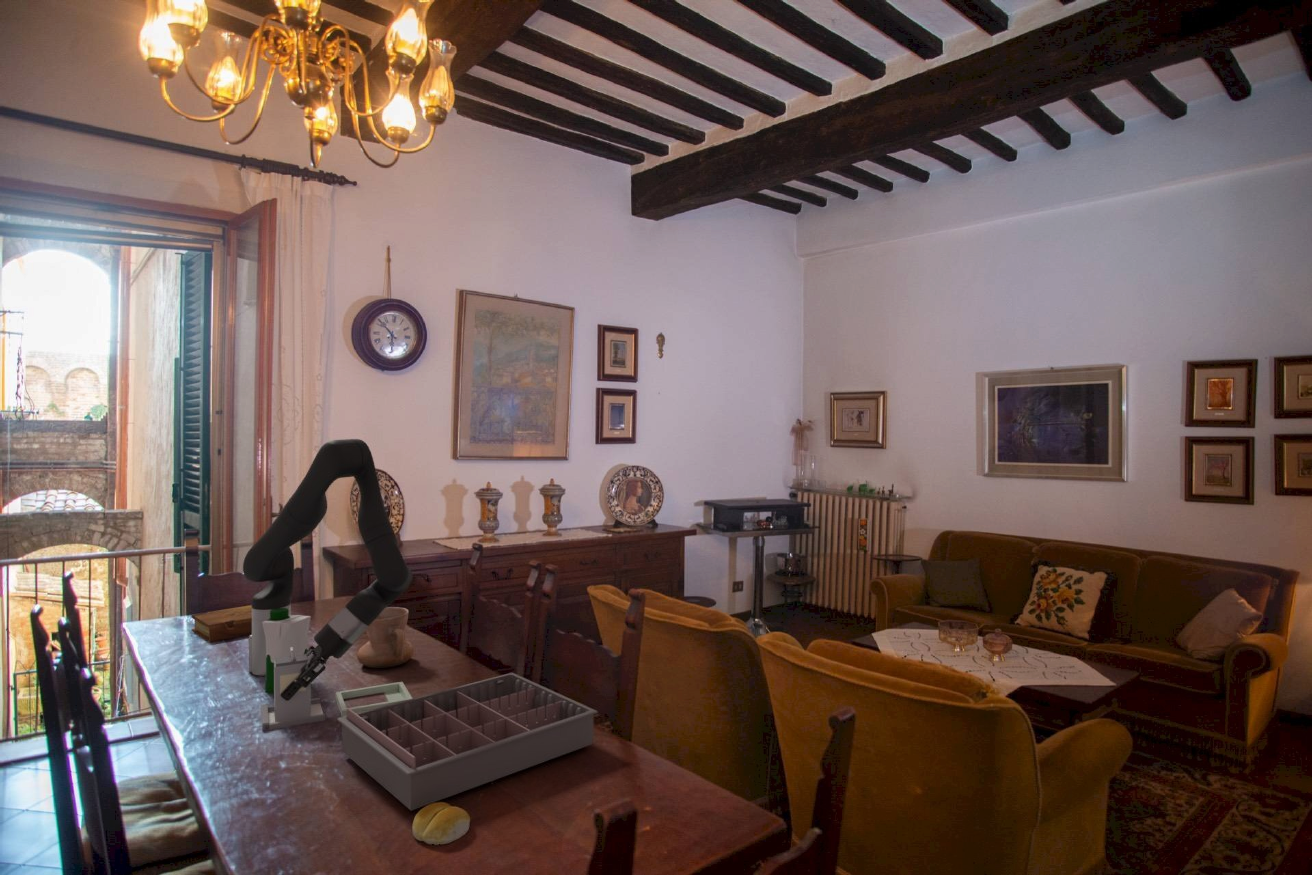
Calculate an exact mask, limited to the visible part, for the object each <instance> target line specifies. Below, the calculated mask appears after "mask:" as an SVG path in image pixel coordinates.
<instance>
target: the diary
mask: <svg viewBox="0 0 1312 875" xmlns="http://www.w3.org/2000/svg"><path fill="white" fill-rule="evenodd" d="M190 617H191V618H192V619H193V620H194V628H192V629H191V632H193V633H194V634H196V635H197V636H199V637H200V638H201V639H203V640H205V641H206V642H208V641H209V642H208V643H213V641H215V642H219V640H220V641H225V640H230V639H235V638H242V637H247V636H250V635H252V604H250V605H245V606H239V607H238V606H237V607H232V608H231V607H230V608H225V609H224V608H223V609H220V610H219V609H218V610H212V611H205V612H200V613H193V614H191V616H190Z"/></svg>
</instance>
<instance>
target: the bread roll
mask: <svg viewBox="0 0 1312 875" xmlns="http://www.w3.org/2000/svg"><path fill="white" fill-rule="evenodd" d="M470 823H471V817H470V815H469V813H468V812H467V811H466V810H465V809H463V808H460V807H458V806H452V805H451V804H449V803H448V802H444V801H439V802H438V801H436V802H433V803H430V804H428V805H425V806H423V808H422V807H421V809H419V811H418V812H417V813H416V814H415V816H414V819H413V821H412V827H411V828H412V835H413V837H414V838H415V839H416V840H418V841H420V842H424V843H425V844H428V845H432V844H434V845H433V846H440V845H446V844H449V843H453V842H454V841H457V840H458V839H461V838H462V837H463V836H464V835H466V834H467V832H468V831H469V828H470ZM439 844H440V845H439Z"/></svg>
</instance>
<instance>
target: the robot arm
mask: <svg viewBox="0 0 1312 875" xmlns="http://www.w3.org/2000/svg"><path fill="white" fill-rule="evenodd" d="M352 477H353V478H354V479H355V482H356V483H357V487H358V490H359V495H360V497H359V507H358V512H357V526H358V530H359V533H360V536H361V538H362V541H363V543H364V545H365V548H366V550H367V552H368V554H369V557H370V562H371V565H372V569H373V572H374V575H375V577H376V579H375V580H374V581H373V582H372V583H371V584H370V585H369V586H368V587H366V588H365V589H362V590H360V591H358V593H356V594H355V595H354V596H353V597H352V598H351V600H349V601H348V603H347V604H345V606H343V608H341V609H340V610H339V611H338V612H336V614H334V615H333V616H332V617H331V619H330V620H329V621H327V623H326V624H325V625H324V626H323V627H322V628H321V629H320V630H318V631H319V632H317V633H316V634H315V636H314V638H313V640H314V642H315V643H316V644H317V645H316V646H314V645H310V647H308V650H307V652H306V653H305V654H307V655H306V656H308V657H307V659H309V660H308V661H307V662H306V663H305V664H304V666H303V667H302V668H301V669H300V673H299V674H298V675H297V676H296V677H295V678H294V680H293V681H292V682H291V683H290V684H289V685H288V686H287V688H286V689H285V690H284V691H283V692H282V693H281V697H282V698H283V699H285V700H286V701H289V700H290V699H291V698H292V697H293V696H294V695H295V693H296V692H297V691H298V690H299V689H300V688H301V687H302V688H303V687H304V688H306V687H307V686H308V685H309V684H310V683H311V684H312V682H314V680H315V679H316V678H318V676H320V674H322V673H323V672H324V671H326V668H327V666H326V665H327V661H328V660H329V659H330V657H333V658H334V659H337V660H338V659H341V658H342V657H343V656H344V655H345V654H346V653H347V651H349V649H350V648H351V647H352V646H354V644H355V643H356V642H357V641H358V640H359V639H360V638H361V637H362V636H363V634H364V633H365V632H366V631H365V630H366V629H367V627H368V626H369V625H370V624H371V623H372V622H373V621H374V620H375V619H376V618H377V617H378V616H379V614H380V613H381V612H382V611H383V610H384V609H385V608H386V607H388V606H390V605H391V604H392V603H394V601H396V600H397V599H398V598H399V597H400V596H401V595H402V594H403V593H404V592H405V591H406V590H407V589H408V588H409V587H410V585H411V583H412V581H413V572H412V570H411V568H410V567H409V566H408V565H407V564H406V562H405V559H404V557H403V555H402V553H401V551H400V549H399V546H398V544H399V543H398V538H397V535H396V533H395V531H394V528H393V526H392V524H391V521H390V518H389V517H388V514H387V511H386V507H385V505H384V501H383V497H382V492H381V487H380V482H379V479H378V474H377V470H376V466H375V461H374V457H373V454H372V452H371V450H370V447H369V445H368V444H367V443H366V441H364V440H363V439H359V438H350V439H349V438H345V439H333V440H329V441H327V442H325V443H324V444H323V445H322V446H321V447H320V448H319V450H318V451H317V454H316V455H315V457H314V458H313V461H312V463H311V464H310V465H309V469H308V471H307V472H306V474H305V476H304V477H303V478H302V480H301V482H300V484H299V485H298V486H297V488H296V489H295V491H294V493H293V494H291V497H289V499H288V500H287V502H286V503H285V505H284V506H283V507H282V509H281V510H280V512H279V514H278V515H277V517H276V518H274V519H275V520H274V521H273V522H272V523H271V525H270V526H269V527H268V528H267V529H266V531H265V532H264V533H263V535H262V536H261V537H260V538H259V539H258V540H257V541H256V542H255V543H254V544H253V545H252V547H250V548H249V550H248V551H247V553H246V555H245V556H244V558H243V562H242V564H243V565H242V572H243V575H244V577H245V578H246V579H247V580H248V581H250V582H252V583H265V582H268V583H267V585H266V586H265V587H264V588H263V589H262V590H261V591H259V592H257V593H256V594H255V595H254V594H253V596H252V597H251V605H252V635H248V672H249V673H252V674H253V675H254V676H266V637H265V633H264V629H263V624H262V622H264V621H266V620H268V619H270V611H271V610H273V609H277V608H287V609H288V612H289V615H292V614H291V613H292V609H291V608H292V606H291V600H292V596H293V593H294V576H295V574H294V573H295V557H294V554H293V553H294V552H293V551H292V549H291V547H292V546H294V545H295V544H297V543H298V542H300V541H302V540H303V539H305V538H306V537H307V536H309V535H310V534H312V533H313V531H315V529H316V528H317V527H318V526H319V525H320V523H321V522H322V520H323V519H324V517H325V515H326V514H327V510H328V501H327V495H326V494H327V493H326V492H327V491H328V490H329V488H330V487H331V485H332V484H334V482H335V481H337V480H338V479H343V478H352ZM309 662H310V663H309ZM308 664H309V665H308ZM307 665H308V669H307V670H306V669H305V668H306V666H307ZM305 676H307V678H306V680H304V679H303V678H304V677H305Z"/></svg>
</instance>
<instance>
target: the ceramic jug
mask: <svg viewBox="0 0 1312 875" xmlns="http://www.w3.org/2000/svg"><path fill="white" fill-rule="evenodd" d="M408 619H409V609H407V608H405V607H399V606H396V607H395V606H389V607H388V606H387V607H386V608H385V609H384V610H383V611H382V612H381V613H380V614H379V616H378V617H377V618H376V619H375V620H374V621H373V622H372V623H371V624H370V625H369V626H368V627H367V629H366V630H365V631H364V632H365V634H366V635H367V637H368V641H367V642H366V643H364V644H363V645H362V646H361V647H360V648H359V649H358V651H357V654H356V657H357V660H358V662H359V663H360V664H361V665H363V666H365V667H367V668H373V669H385V668H387V669H388V668H392V667H396V666H399V665H402V664H404V663H406V662H407V661H409V660H410V659H412V656H413V654H414V647H413V644H412V643H411V642H410V641H408V640H406V634H405V633H406V632H405V629H406V628H407V623H408Z"/></svg>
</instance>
